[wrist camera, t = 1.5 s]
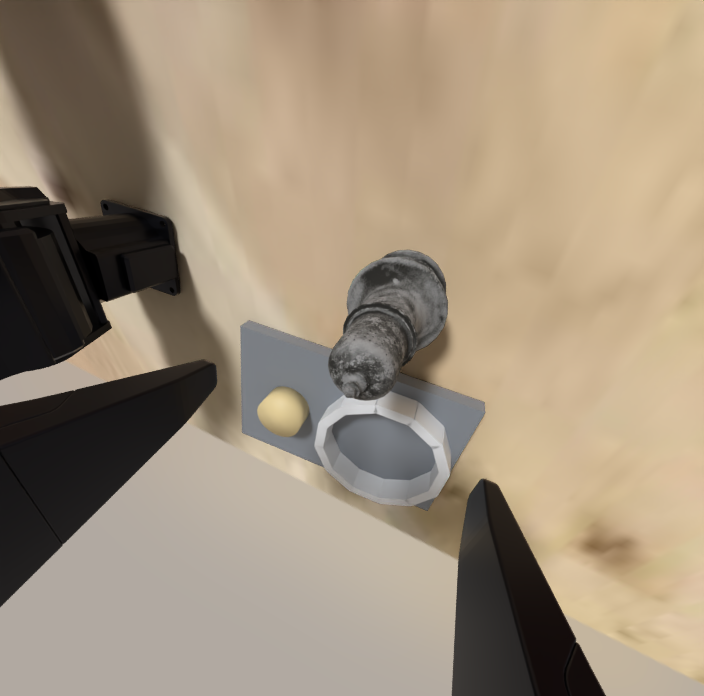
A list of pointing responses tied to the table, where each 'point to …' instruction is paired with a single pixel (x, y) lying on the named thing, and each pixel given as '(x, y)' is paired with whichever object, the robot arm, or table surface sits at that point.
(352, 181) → the table surface
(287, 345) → the socket board
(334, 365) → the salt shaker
